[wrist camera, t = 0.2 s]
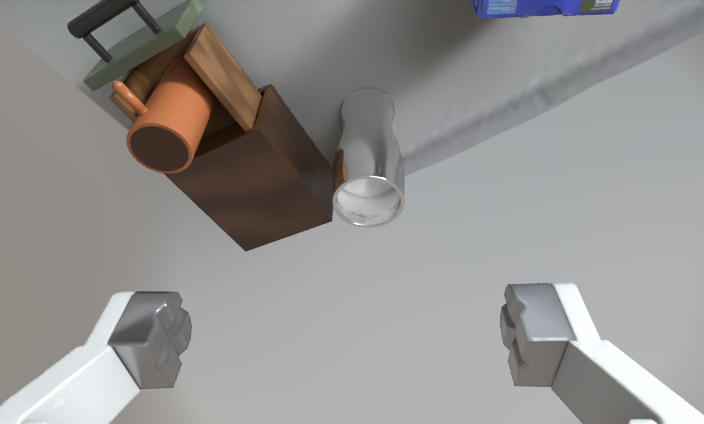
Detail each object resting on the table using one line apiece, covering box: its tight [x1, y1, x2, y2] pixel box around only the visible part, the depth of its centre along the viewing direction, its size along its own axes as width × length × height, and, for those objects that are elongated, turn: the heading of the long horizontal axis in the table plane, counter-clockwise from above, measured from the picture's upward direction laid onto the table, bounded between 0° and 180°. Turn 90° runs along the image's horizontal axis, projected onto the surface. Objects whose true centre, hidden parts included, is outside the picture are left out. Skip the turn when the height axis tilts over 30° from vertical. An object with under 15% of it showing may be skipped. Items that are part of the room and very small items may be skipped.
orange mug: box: [112, 57, 218, 173], centre depth 44 cm, size 9×6×12 cm, turn 28°
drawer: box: [67, 0, 263, 155], centre depth 46 cm, size 18×11×7 cm, turn 28°
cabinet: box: [164, 84, 333, 251], centre depth 55 cm, size 14×12×8 cm
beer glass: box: [332, 88, 405, 227], centre depth 48 cm, size 7×7×15 cm
